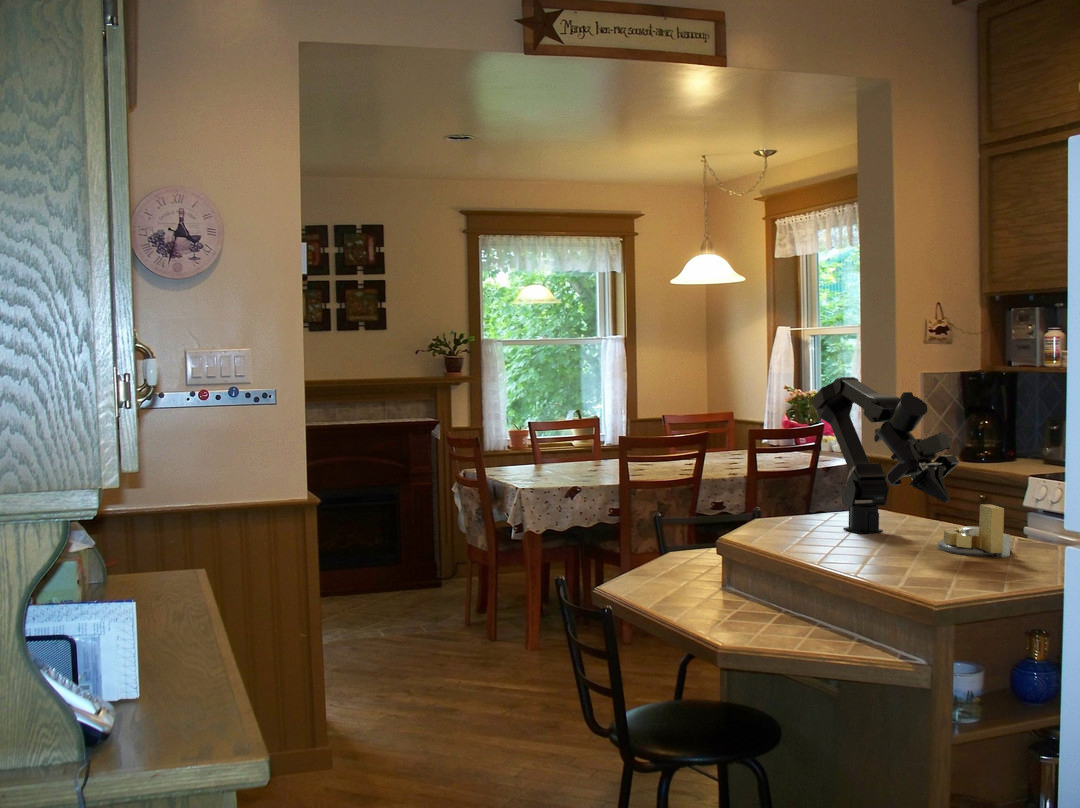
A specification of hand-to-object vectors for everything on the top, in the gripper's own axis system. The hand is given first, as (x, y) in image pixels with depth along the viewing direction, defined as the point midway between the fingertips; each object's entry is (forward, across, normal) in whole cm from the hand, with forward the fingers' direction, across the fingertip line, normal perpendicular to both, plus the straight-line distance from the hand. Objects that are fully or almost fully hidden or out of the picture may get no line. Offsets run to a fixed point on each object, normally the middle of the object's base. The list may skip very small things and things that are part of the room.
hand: (947, 501), depth 215 cm
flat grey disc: (+9, +6, +6) cm, 12 cm away
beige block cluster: (+10, +5, +3) cm, 11 cm away
